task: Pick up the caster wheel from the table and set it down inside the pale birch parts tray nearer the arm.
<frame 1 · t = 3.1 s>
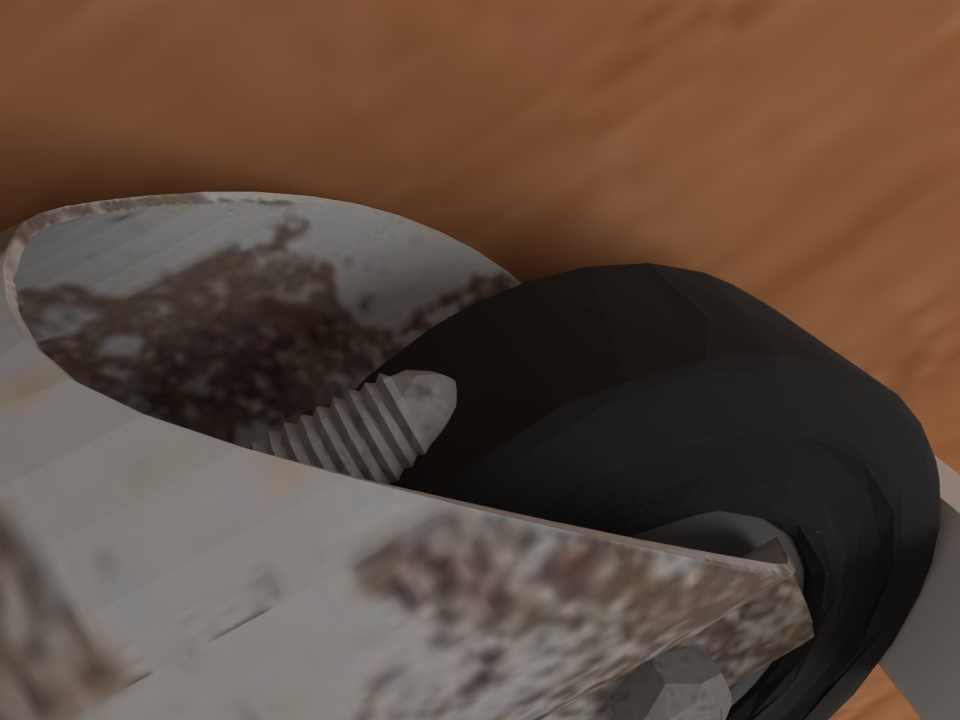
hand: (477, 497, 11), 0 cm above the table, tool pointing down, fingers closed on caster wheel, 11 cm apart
caster wheel: (475, 429, 12), on the table, touching gripper
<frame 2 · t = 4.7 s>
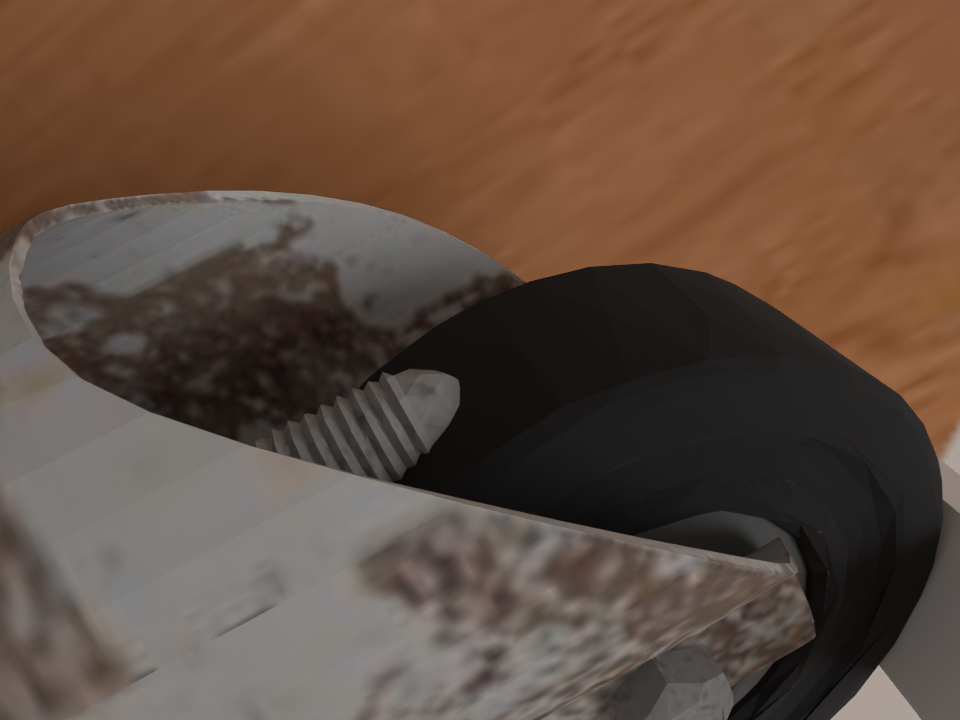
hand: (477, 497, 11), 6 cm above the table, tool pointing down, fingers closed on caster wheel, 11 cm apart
caster wheel: (477, 428, 12), point 6 cm above the table, touching gripper
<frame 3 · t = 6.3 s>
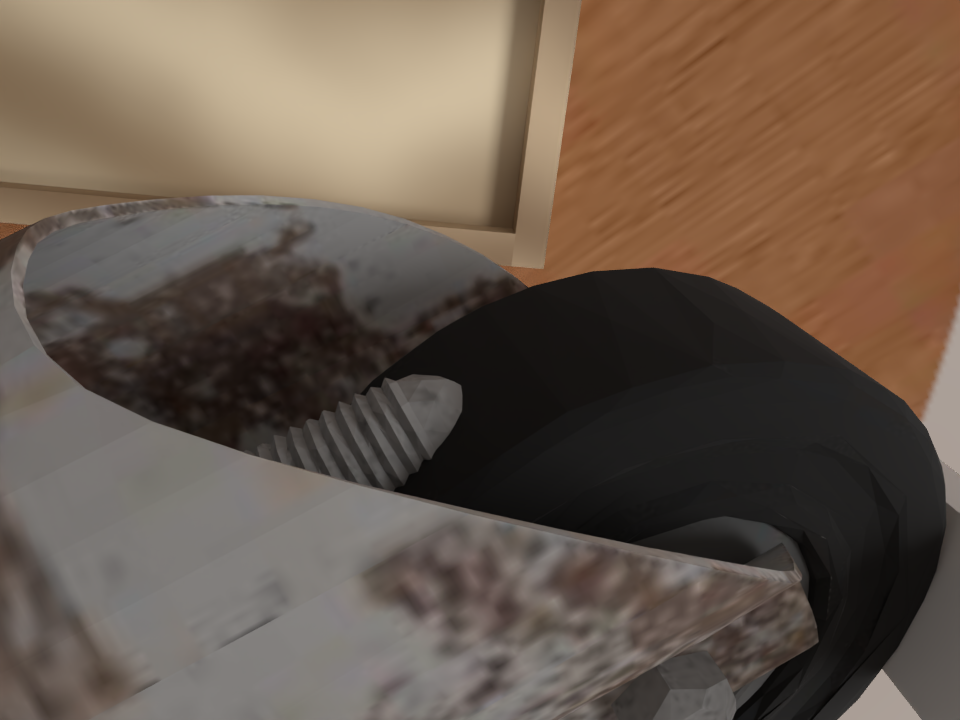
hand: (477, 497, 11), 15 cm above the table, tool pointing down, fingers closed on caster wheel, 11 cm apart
caster wheel: (479, 432, 12), point 15 cm above the table, touching gripper
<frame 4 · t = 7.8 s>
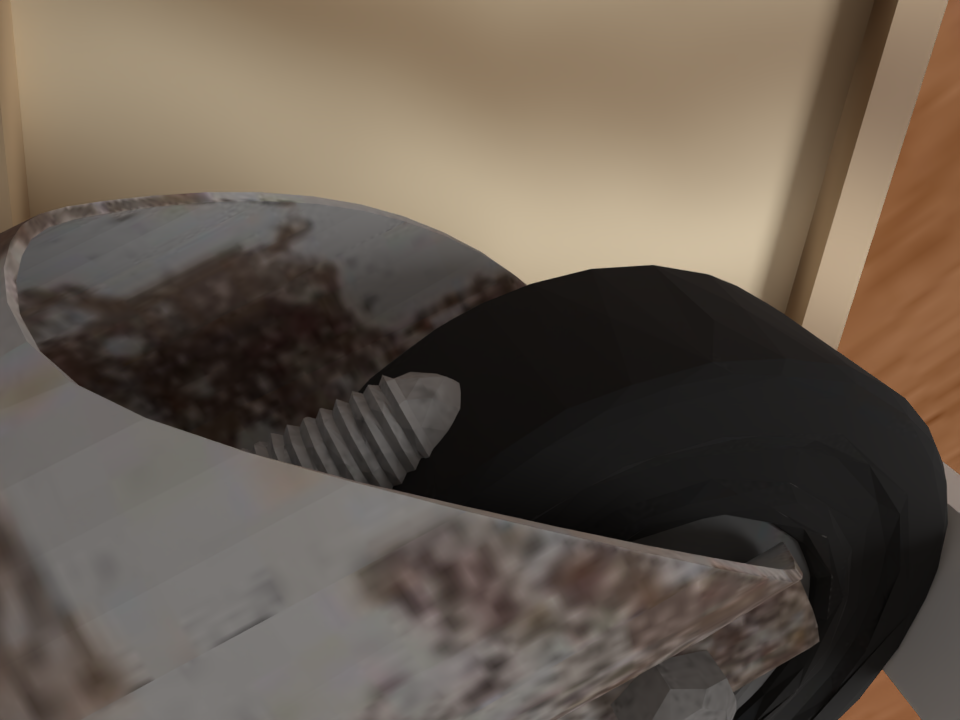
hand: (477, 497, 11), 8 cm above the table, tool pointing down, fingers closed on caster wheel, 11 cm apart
parts tray: (429, 309, 18), on the table
caster wheel: (478, 431, 12), point 7 cm above the table, touching gripper
when the fingers open (3 cm above the table, at t = 9.2 s): caster wheel drops 1 cm, resting on parts tray.
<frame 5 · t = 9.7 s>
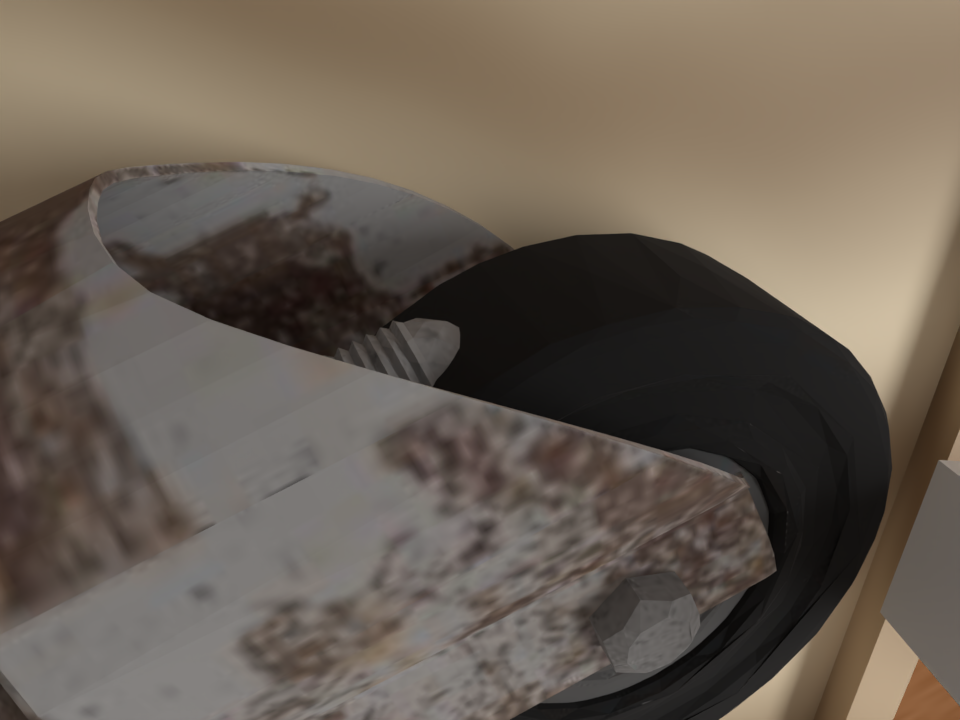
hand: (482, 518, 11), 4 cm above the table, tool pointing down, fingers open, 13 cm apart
parts tray: (460, 407, 14), on the table
caster wheel: (475, 390, 13), point 1 cm above the table, touching parts tray
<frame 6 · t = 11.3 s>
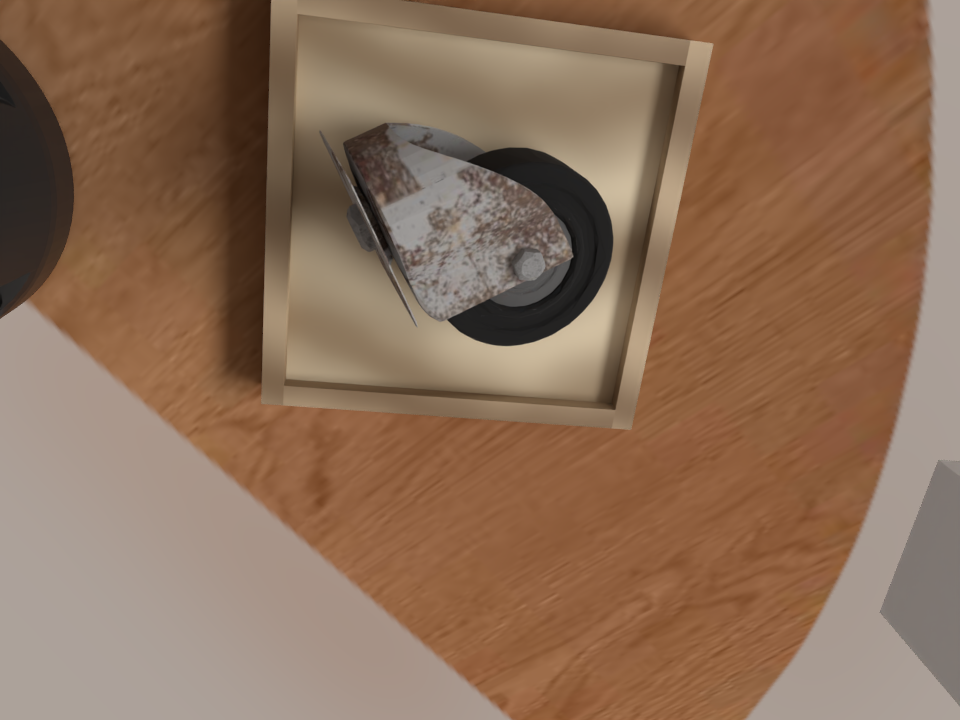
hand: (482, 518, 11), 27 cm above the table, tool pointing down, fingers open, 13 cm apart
parts tray: (470, 224, 37), on the table
caster wheel: (478, 211, 35), point 1 cm above the table, touching parts tray
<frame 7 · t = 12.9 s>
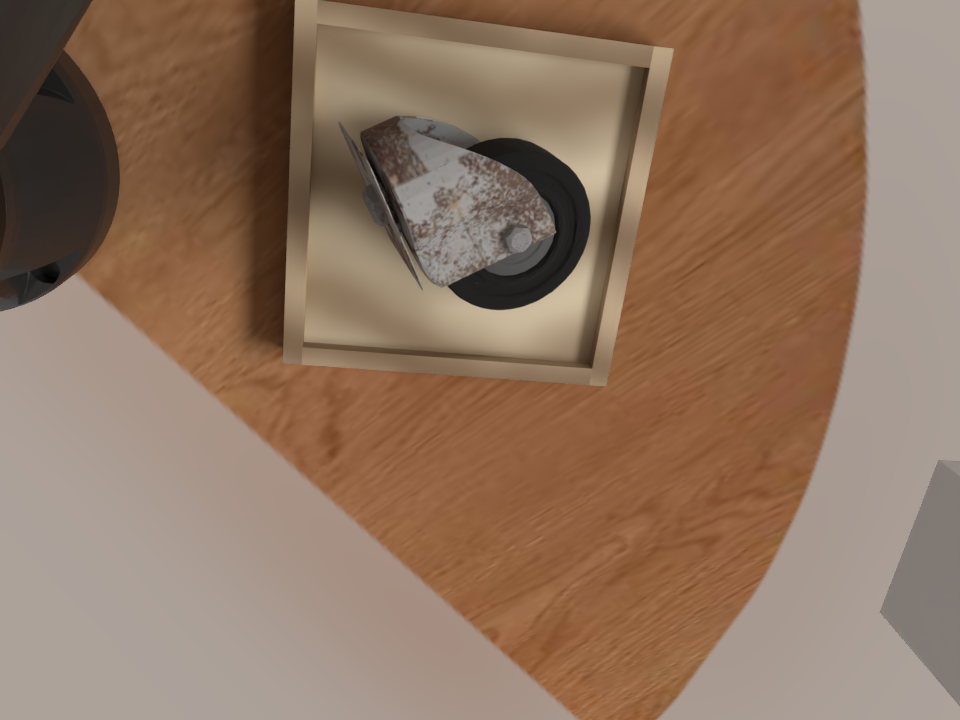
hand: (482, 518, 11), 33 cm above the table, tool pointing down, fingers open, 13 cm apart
parts tray: (465, 205, 42), on the table
caster wheel: (474, 192, 41), point 1 cm above the table, touching parts tray
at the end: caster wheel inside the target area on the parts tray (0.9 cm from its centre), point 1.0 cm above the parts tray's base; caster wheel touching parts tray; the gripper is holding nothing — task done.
